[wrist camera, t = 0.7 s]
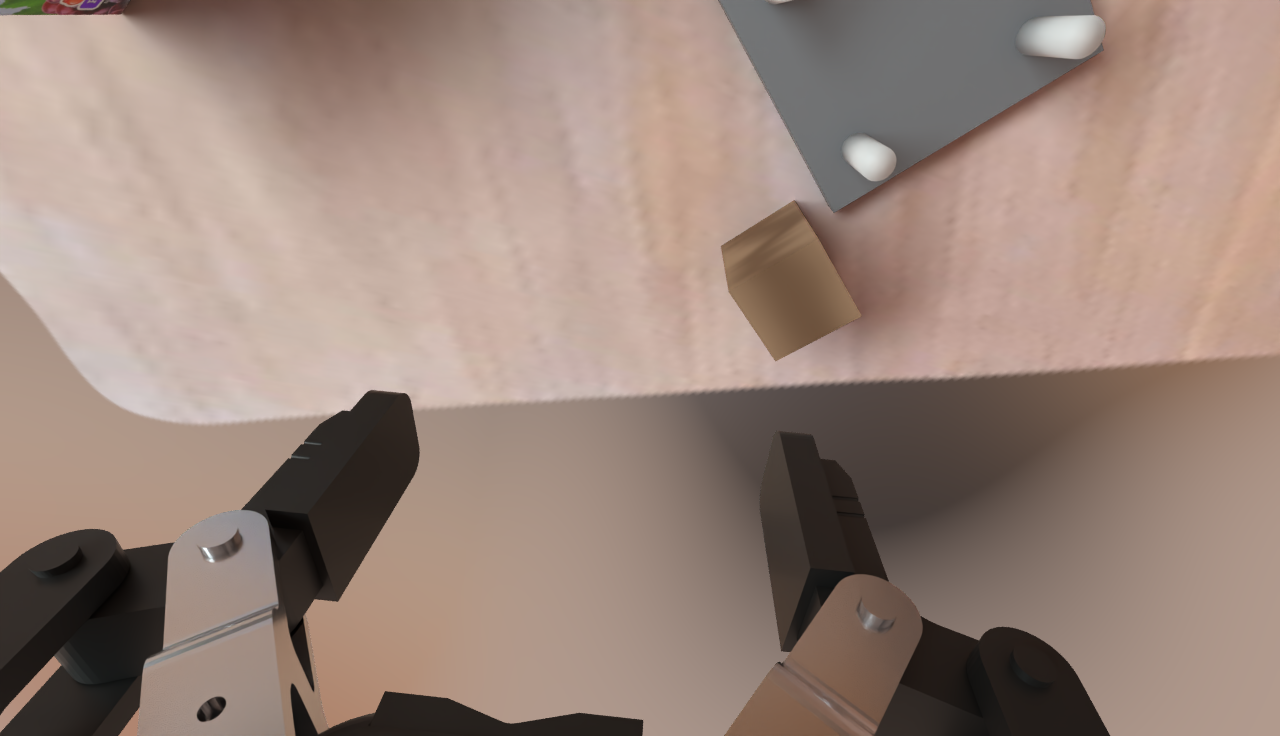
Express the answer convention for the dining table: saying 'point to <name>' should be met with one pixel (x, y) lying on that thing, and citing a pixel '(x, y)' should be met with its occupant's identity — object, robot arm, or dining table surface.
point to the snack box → (62, 7)
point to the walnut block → (786, 282)
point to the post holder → (902, 73)
